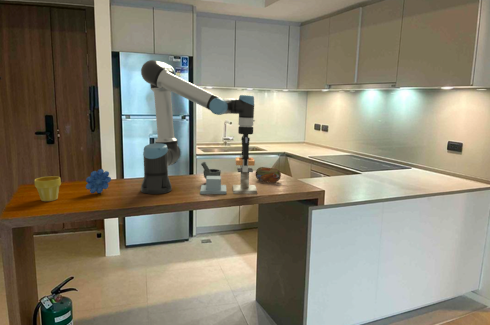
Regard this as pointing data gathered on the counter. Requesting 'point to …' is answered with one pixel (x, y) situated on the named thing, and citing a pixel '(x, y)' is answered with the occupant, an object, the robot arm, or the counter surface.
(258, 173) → the tin
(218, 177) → the block
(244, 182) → the post stand
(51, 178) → the plant pot
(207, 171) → the mortar and pestle
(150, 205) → the counter surface
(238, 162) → the link
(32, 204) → the counter surface
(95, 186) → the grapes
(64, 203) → the counter surface
